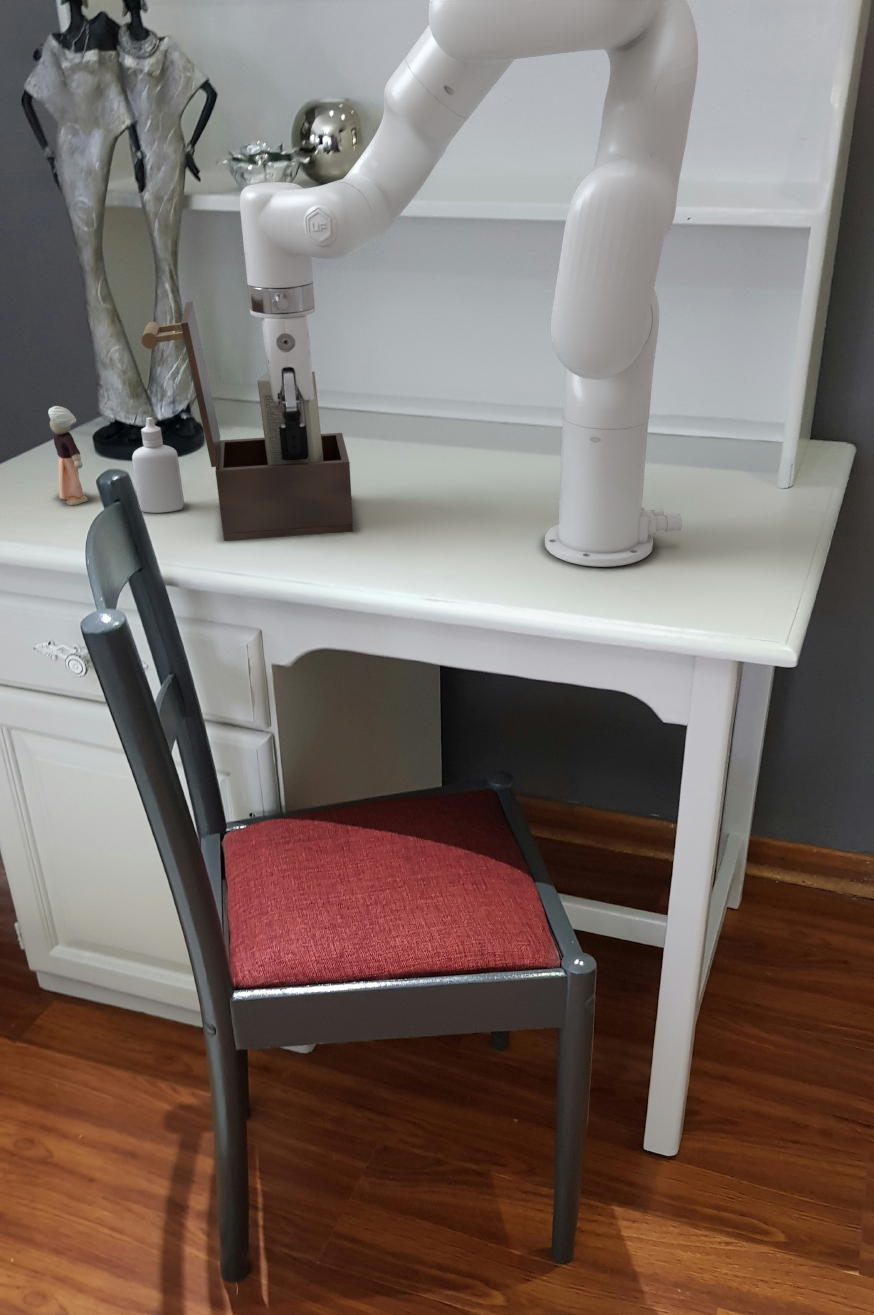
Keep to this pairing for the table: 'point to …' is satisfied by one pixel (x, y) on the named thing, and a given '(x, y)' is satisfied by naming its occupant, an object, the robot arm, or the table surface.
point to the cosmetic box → (273, 423)
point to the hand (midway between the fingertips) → (294, 449)
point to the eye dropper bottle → (157, 473)
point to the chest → (283, 491)
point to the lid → (197, 371)
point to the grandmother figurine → (66, 456)
